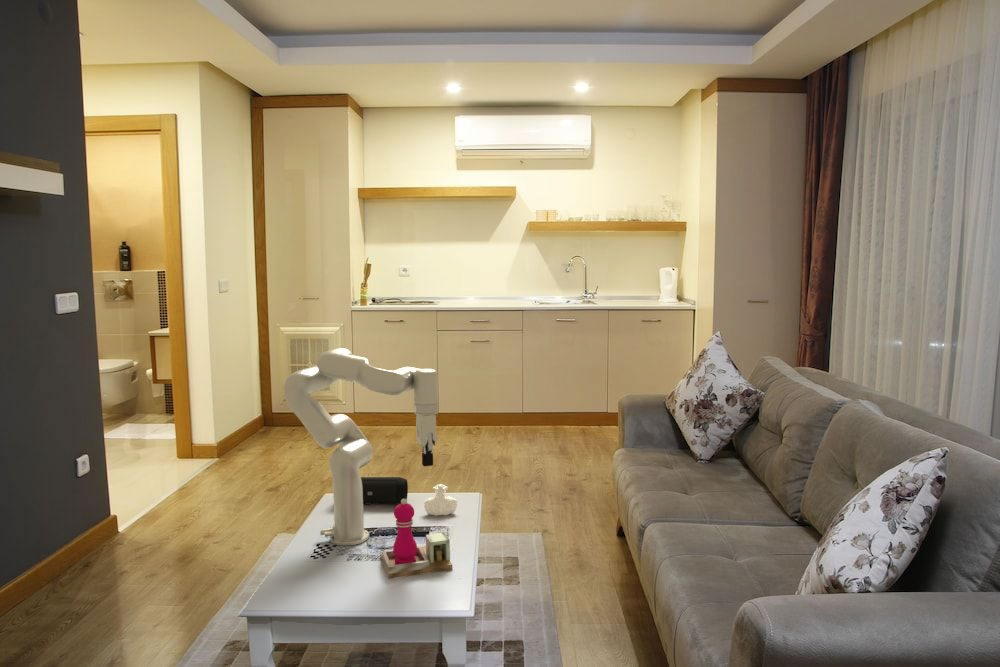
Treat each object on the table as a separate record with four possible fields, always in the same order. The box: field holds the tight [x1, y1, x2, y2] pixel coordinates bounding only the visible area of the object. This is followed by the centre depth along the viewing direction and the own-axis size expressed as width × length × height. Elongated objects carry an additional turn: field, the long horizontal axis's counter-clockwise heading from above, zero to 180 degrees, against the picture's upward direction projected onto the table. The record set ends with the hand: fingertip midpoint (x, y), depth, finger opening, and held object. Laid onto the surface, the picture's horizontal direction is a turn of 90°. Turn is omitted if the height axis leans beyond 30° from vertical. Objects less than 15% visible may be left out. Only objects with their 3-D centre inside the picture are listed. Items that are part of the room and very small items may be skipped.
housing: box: [425, 532, 451, 563], centre depth 217 cm, size 6×6×6 cm
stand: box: [379, 545, 453, 580], centre depth 217 cm, size 19×16×4 cm
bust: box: [423, 483, 458, 517], centre depth 259 cm, size 12×8×11 cm
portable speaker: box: [360, 476, 409, 505], centre depth 270 cm, size 26×10×10 cm, turn 89°
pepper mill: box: [392, 499, 418, 565], centre depth 212 cm, size 7×7×20 cm
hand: (427, 465), depth 225 cm, fingers closed
